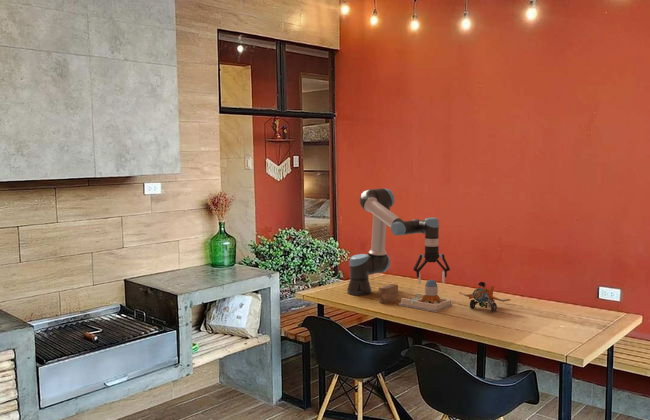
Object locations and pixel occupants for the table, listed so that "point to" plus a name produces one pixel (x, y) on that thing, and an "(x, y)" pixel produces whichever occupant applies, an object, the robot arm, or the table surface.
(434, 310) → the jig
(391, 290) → the wing block
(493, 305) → the toy airplane
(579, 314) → the table surface
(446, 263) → the robot arm
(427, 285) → the toy rocket
